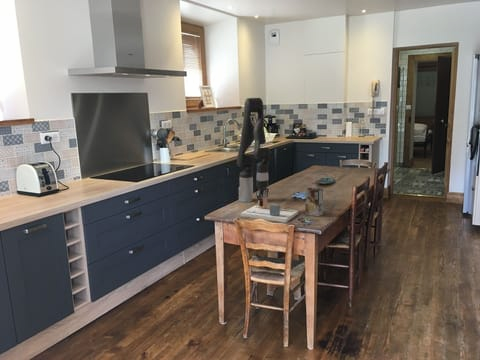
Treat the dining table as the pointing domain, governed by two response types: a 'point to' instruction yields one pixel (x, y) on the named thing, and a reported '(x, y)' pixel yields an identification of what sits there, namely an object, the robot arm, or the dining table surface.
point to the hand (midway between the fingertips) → (262, 205)
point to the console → (265, 214)
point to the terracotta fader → (263, 203)
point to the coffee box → (314, 201)
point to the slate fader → (275, 209)
